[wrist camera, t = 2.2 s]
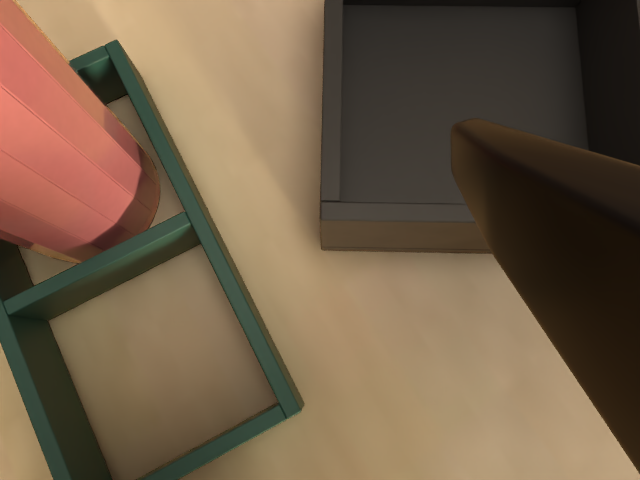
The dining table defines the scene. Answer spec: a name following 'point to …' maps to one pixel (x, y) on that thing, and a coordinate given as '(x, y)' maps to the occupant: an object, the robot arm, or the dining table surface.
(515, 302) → the dining table surface
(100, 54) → the rack
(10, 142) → the cup
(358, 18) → the square open box
